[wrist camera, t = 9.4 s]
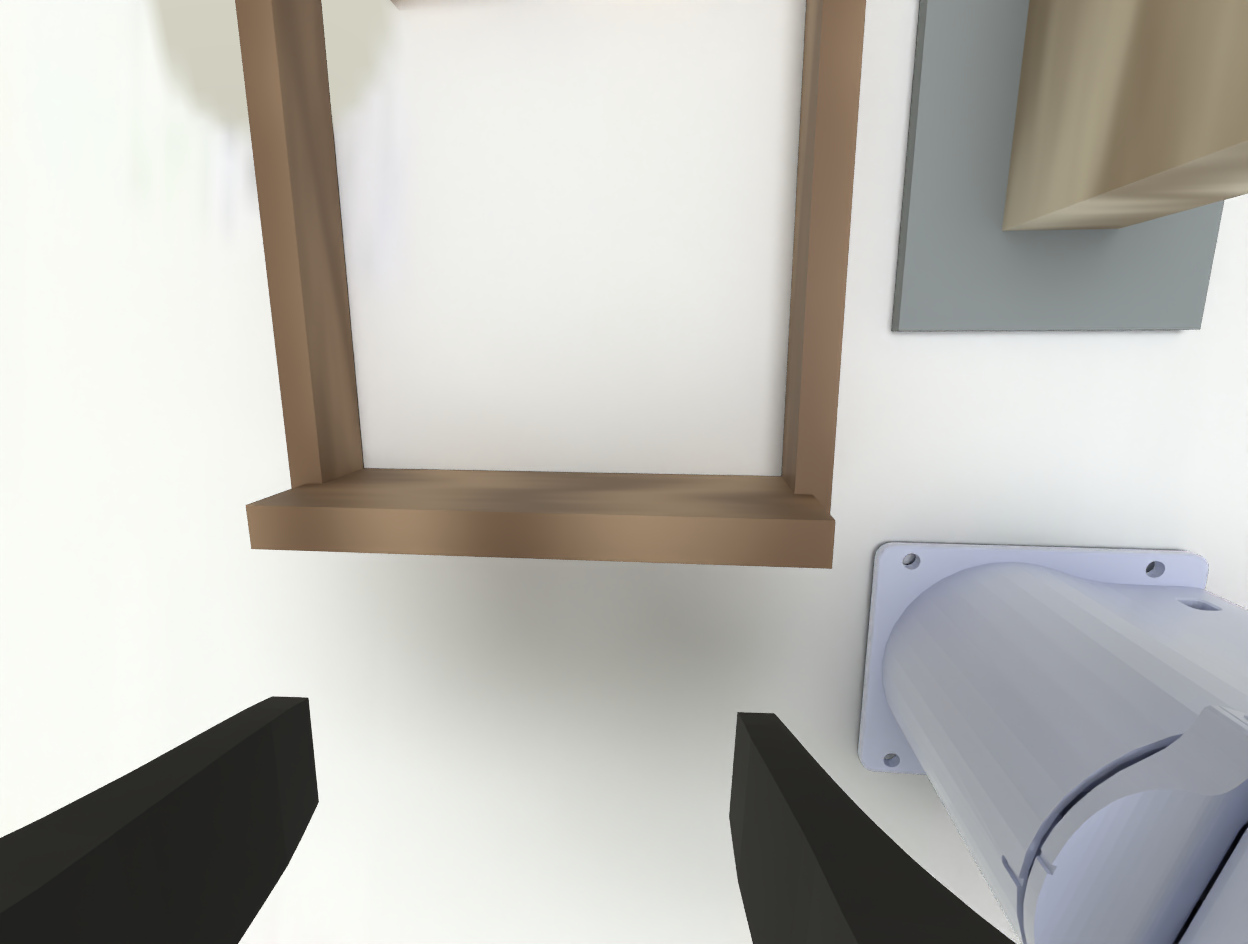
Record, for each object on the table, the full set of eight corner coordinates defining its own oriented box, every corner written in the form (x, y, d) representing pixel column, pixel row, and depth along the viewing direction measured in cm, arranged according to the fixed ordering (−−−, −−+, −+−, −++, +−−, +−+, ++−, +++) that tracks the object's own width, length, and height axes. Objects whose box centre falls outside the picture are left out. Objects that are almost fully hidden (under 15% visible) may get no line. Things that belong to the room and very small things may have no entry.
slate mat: (1282, -222, 15) (1307, -246, 14) (1182, 329, 17) (1200, 329, 17) (936, -192, 15) (946, -214, 15) (892, 331, 18) (898, 330, 17)
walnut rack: (858, -228, 15) (938, -493, 11) (811, 513, 19) (853, 569, 14) (271, -173, 17) (104, -382, 12) (339, 501, 21) (233, 548, 16)
